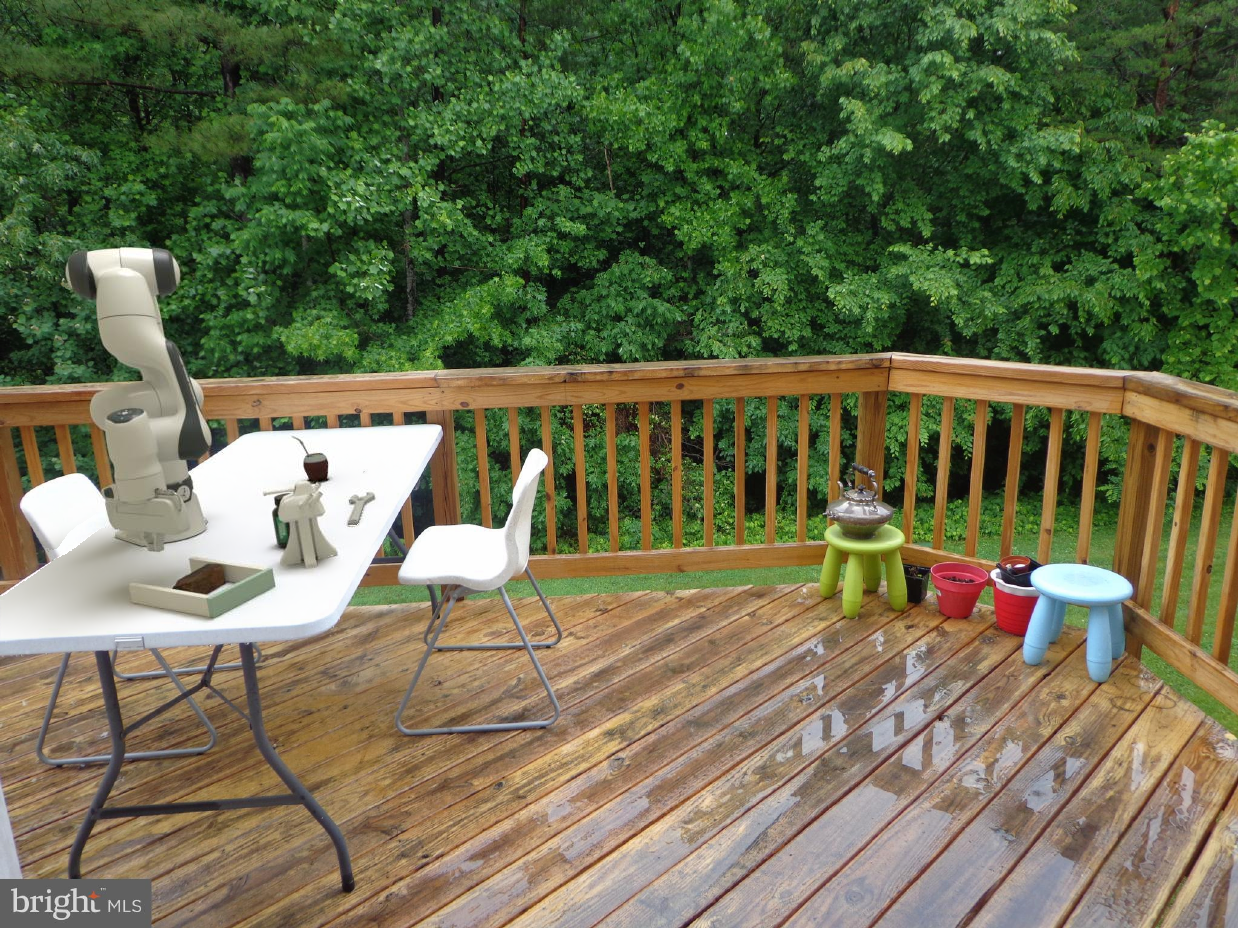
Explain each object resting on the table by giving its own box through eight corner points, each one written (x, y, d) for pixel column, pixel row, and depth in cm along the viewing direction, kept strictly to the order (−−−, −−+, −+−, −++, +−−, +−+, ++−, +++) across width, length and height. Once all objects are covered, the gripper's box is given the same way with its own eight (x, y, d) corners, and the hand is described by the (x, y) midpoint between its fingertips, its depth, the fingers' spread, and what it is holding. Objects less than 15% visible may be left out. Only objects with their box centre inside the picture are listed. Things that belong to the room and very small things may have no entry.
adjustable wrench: (358, 527, 217) (357, 521, 216) (332, 530, 216) (331, 523, 216) (376, 497, 241) (375, 491, 240) (353, 498, 240) (352, 492, 240)
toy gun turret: (274, 556, 199) (261, 481, 194) (334, 545, 204) (323, 472, 199) (277, 574, 188) (263, 495, 183) (340, 562, 193) (328, 485, 188)
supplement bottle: (286, 550, 202) (278, 502, 199) (272, 545, 206) (263, 497, 203) (313, 542, 207) (305, 494, 204) (298, 536, 211) (290, 489, 208)
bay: (132, 602, 177) (128, 584, 176) (196, 573, 191) (193, 556, 190) (214, 617, 168) (210, 598, 167) (275, 585, 182) (272, 568, 181)
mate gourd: (334, 477, 262) (327, 429, 258) (323, 484, 254) (315, 435, 250) (310, 477, 262) (303, 429, 258) (299, 485, 255) (291, 436, 251)
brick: (211, 582, 186) (207, 562, 185) (226, 584, 185) (222, 563, 183) (174, 603, 176) (169, 582, 175) (190, 605, 175) (185, 583, 174)
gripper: (190, 485, 177) (204, 548, 180) (122, 481, 185) (136, 542, 189) (164, 494, 171) (178, 559, 175) (95, 490, 180) (110, 552, 183)
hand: (156, 550), depth 182 cm, fingers closed
